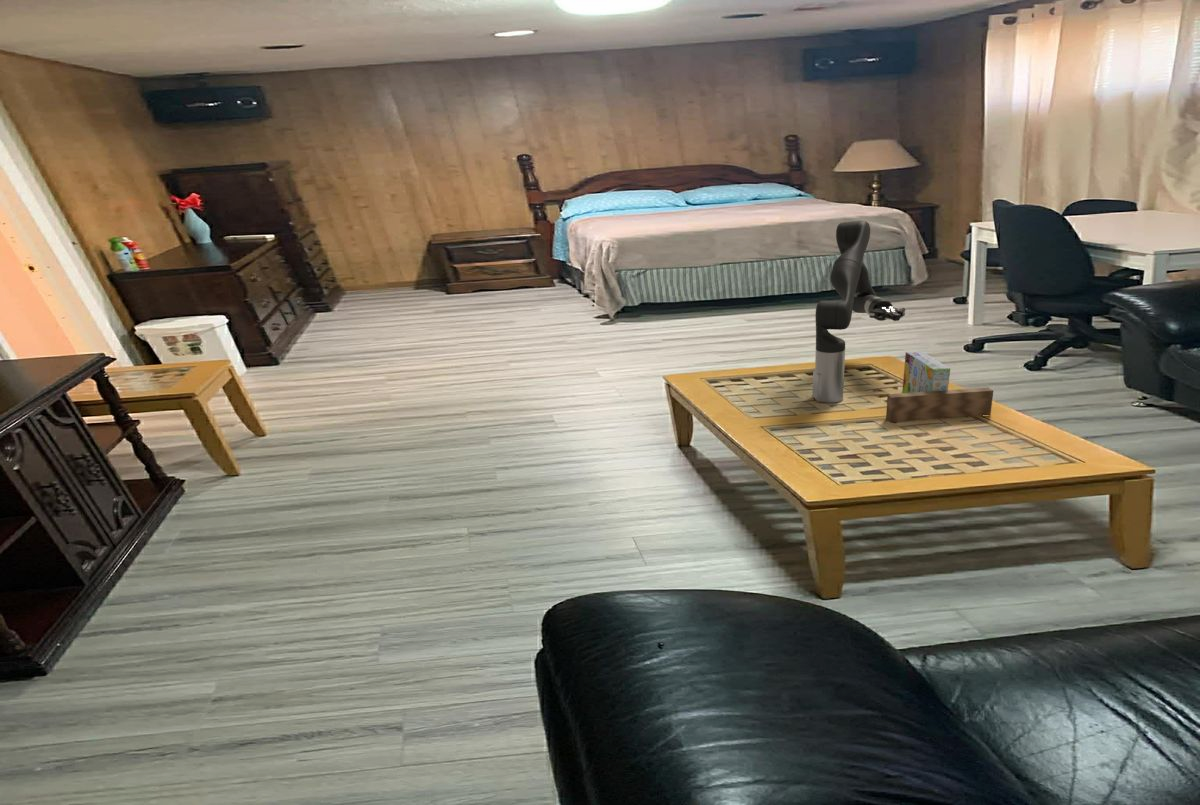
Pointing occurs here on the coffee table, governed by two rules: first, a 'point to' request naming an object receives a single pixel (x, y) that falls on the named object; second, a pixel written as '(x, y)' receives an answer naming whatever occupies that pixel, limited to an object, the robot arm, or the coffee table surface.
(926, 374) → the snack box
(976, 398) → the board
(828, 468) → the coffee table surface
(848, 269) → the robot arm
